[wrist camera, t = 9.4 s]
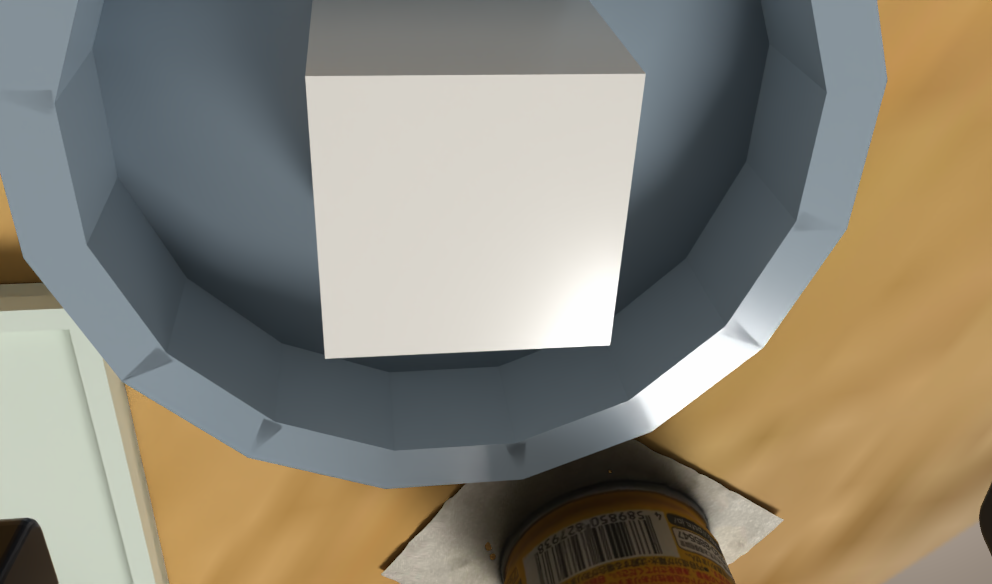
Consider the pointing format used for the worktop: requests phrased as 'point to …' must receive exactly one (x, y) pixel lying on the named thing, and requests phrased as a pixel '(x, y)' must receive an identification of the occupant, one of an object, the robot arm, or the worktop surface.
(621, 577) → the condiment
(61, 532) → the tray
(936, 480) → the worktop surface
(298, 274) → the bowl
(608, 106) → the white matte cube
